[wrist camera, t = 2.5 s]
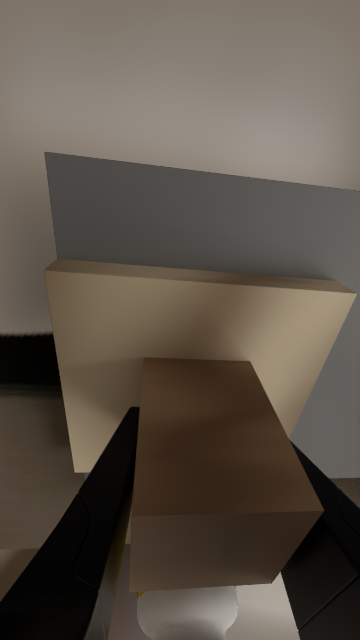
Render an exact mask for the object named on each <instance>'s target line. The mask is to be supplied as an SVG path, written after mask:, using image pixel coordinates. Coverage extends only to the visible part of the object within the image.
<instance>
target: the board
mask: <svg viewBox="0 0 360 640" xmlns="http://www.w3.org/2000/svg"><path fill="white" fill-rule="evenodd" d="M45 160H46V169H47V177H48V185H49V193H50V201H51V209H52V217H53V226H54V234H55V241H56V249H57V258H58V259H66V260H78V261H91V262H104V263H116V264H129V265H141V266H154V267H167V268H179V269H192V270H204V271H217V272H230V273H242V274H255V275H268V276H280V277H293V278H305V279H318V280H331V281H337V282H339V283H340V284H342V285H344V286H345V287H347V288H349V289H350V290H352V291H354V292H355V293H357V295H356V298H355V300H354V302H353V304H352V306H351V308H350V310H349V312H348V315H347V317H346V319H345V321H344V323H343V325H342V327H341V329H340V331H339V334H338V336H337V338H336V340H335V342H334V344H333V346H332V348H331V351H330V353H329V355H328V357H327V359H326V361H325V363H324V365H323V368H322V370H321V372H320V374H319V376H318V378H317V380H316V382H315V384H314V387H313V389H312V391H311V393H310V395H309V397H308V399H307V401H306V404H305V406H304V408H303V410H302V412H301V414H300V416H299V418H298V421H297V423H296V425H295V427H294V429H293V431H292V433H291V435H290V437H289V439H290V440H291V441H292V442H293V443H294V444H295V445H296V446H297V447H298V448H299V449H300V450H301V451H302V452H303V453H304V454H305V455H306V456H307V457H308V458H309V459H310V460H311V461H312V462H313V463H314V464H315V465H316V466H317V467H318V468H319V469H320V470H321V471H322V472H323V473H324V474H325V475H326V476H327V477H328V478H360V191H355V190H347V189H339V188H331V187H323V186H315V185H306V184H299V183H291V182H283V181H275V180H267V179H259V178H250V177H242V176H235V175H227V174H219V173H210V172H203V171H194V170H187V169H179V168H171V167H162V166H154V165H146V164H139V163H131V162H123V161H114V160H106V159H98V158H90V157H82V156H74V155H66V154H58V153H50V152H45ZM89 473H90V472H84V477H85V480H86V478H87V477H88V475H89Z"/></svg>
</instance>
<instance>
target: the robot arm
mask: <svg viewBox="0 0 360 640" xmlns="http://www.w3.org/2000/svg"><path fill="white" fill-rule="evenodd" d="M139 413H140V407H138V406H132V407H130V408H129V409H128V411H127V413H126V414H125V416H124V417H123V419H122V421H121V422H120V424H119V426H118V427H117V429H116V431H115V432H114V434H113V436H112V437H111V439H110V440H109V442H108V444H107V445H106V447H105V449H104V450H103V452H102V454H101V455H100V457H99V459H98V460H97V462H96V463H95V465H94V467H93V468H92V470H91V472H90V473H89V475H88V477H87V478H86V480H85V481H84V483H83V485H82V486H81V488H80V490H79V492H78V493H79V494H76V496H75V498H74V499H73V501H72V503H71V504H70V506H69V507H68V509H67V511H66V512H65V514H64V515H63V517H62V518H61V520H60V521H59V523H58V524H57V526H56V527H55V529H54V530H53V531H52V533H51V534H50V536H49V537H48V538H47V540H46V541H45V543H44V544H43V545H42V547H41V548H40V549H39V551H38V552H37V553H36V555H35V556H34V557H33V559H32V560H31V562H30V563H29V564H28V566H27V567H26V568H25V570H24V571H23V572H22V573H21V575H20V576H19V577H18V579H17V580H16V582H15V583H14V584H13V586H12V587H11V588H10V590H9V591H8V592H7V594H6V595H5V596H4V598H3V599H2V600H1V601H0V640H108V634H109V628H110V623H111V617H112V612H113V606H114V600H115V595H116V589H117V584H118V578H119V572H120V567H121V561H122V556H123V550H124V545H125V539H126V533H127V528H128V522H129V517H130V511H131V505H132V500H133V491H134V478H135V465H136V452H137V439H138V426H139ZM289 440H290V439H289ZM290 442H291V444H292V446H293V448H294V450H295V452H296V454H297V456H298V458H299V461H300V463H301V465H302V467H303V469H304V471H305V473H306V475H307V477H308V479H309V481H310V483H311V485H312V487H313V489H314V491H315V493H316V495H317V497H318V499H319V501H320V503H321V505H322V507H323V509H324V512H323V513H322V514H321V516H320V517H319V519H318V520H317V521H316V523H315V524H314V525H313V527H312V528H311V530H310V531H309V532H308V534H307V535H306V537H305V538H304V539H303V541H302V542H301V544H300V545H299V546H298V548H297V549H296V550H295V552H294V553H293V555H292V556H291V557H290V559H289V560H288V562H287V563H286V564H285V566H284V567H283V569H282V570H281V571H280V572H281V575H282V578H283V582H284V585H285V588H286V592H287V595H288V598H289V602H290V606H291V609H292V612H293V616H294V619H295V622H296V626H297V629H298V630H299V631H298V633H299V636H300V640H360V508H359V507H358V506H357V505H356V504H355V503H354V502H353V501H351V500H350V499H349V498H348V497H347V496H346V495H345V494H344V493H343V492H342V491H341V490H340V489H339V488H337V486H336V485H335V484H334V483H333V482H332V481H331V480H330V479H329V478H328V477H327V476H326V475H325V474H324V473H323V472H322V471H321V470H320V469H319V468H318V467H317V466H316V465H315V464H314V463H313V462H312V461H311V460H310V459H309V458H308V457H307V456H306V455H305V454H304V453H303V452H302V451H301V450H300V449H299V448H298V447H297V446H296V445H295V444H294V443H293V442H292V441H291V440H290Z"/></svg>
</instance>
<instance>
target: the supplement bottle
mask: <svg viewBox="0 0 360 640" xmlns="http://www.w3.org/2000/svg"><path fill="white" fill-rule="evenodd" d="M237 612H238V599H237V593H236V587H235V586H223V587H207V588H192V589H177V590H161V591H146V592H137V616H138V622H139V625H140V627H141V629H142V630H143V632H144V633H145V634H146V635H147V636H148V637H150V638H152V639H153V640H226V630H227V629H228V628H229V627H230V626H231V625H232V624H233V622H234V621H235V619H236V616H237Z"/></svg>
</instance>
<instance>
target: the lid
mask: <svg viewBox="0 0 360 640" xmlns="http://www.w3.org/2000/svg"><path fill="white" fill-rule="evenodd" d="M44 275H45V281H46V288H47V295H48V301H49V308H50V314H51V321H52V327H53V334H54V341H55V347H56V354H57V360H58V367H59V373H60V380H61V386H62V393H63V399H64V406H65V412H66V419H67V425H68V432H69V438H70V445H71V451H72V458H73V464H74V471H75V473H79V472H91V470H92V468H93V467H94V465H95V463H96V462H97V460H98V459H99V457H100V455H101V454H102V452H103V450H104V449H105V447H106V445H107V444H108V442H109V440H110V439H111V437H112V436H113V434H114V432H115V431H116V429H117V427H118V426H119V424H120V422H121V421H122V419H123V417H124V416H125V414H126V413H127V411H128V409H129V408H130V407H132V406H138V407H140V413H139V426H138V439H137V452H136V465H135V478H134V491H133V504H132V516H131V550H130V583H129V592H130V593H131V592H146V591H161V590H177V589H192V588H207V587H223V586H237V585H253V584H269V583H272V582H273V581H274V580H275V578H276V577H277V575H278V574H279V573H280V571H281V570H282V569H283V567H284V566H285V564H286V563H287V562H288V560H289V559H290V557H291V556H292V555H293V553H294V552H295V550H296V549H297V548H298V546H299V545H300V544H301V542H302V541H303V539H304V538H305V537H306V535H307V534H308V532H309V531H310V530H311V528H312V527H313V525H314V524H315V523H316V521H317V520H318V519H319V517H320V516H321V514H322V513H323V512H324V509H323V507H322V505H321V503H320V501H319V499H318V497H317V495H316V493H315V491H314V489H313V487H312V485H311V483H310V481H309V479H308V477H307V475H306V473H305V471H304V469H303V467H302V465H301V463H300V461H299V458H298V456H297V454H296V452H295V450H294V448H293V446H292V444H291V442H290V440H289V437H290V435H291V433H292V431H293V429H294V427H295V425H296V423H297V421H298V418H299V416H300V414H301V412H302V410H303V408H304V406H305V404H306V401H307V399H308V397H309V395H310V393H311V391H312V389H313V387H314V384H315V382H316V380H317V378H318V376H319V374H320V372H321V370H322V368H323V365H324V363H325V361H326V359H327V357H328V355H329V353H330V351H331V348H332V346H333V344H334V342H335V340H336V338H337V336H338V334H339V331H340V329H341V327H342V325H343V323H344V321H345V319H346V317H347V315H348V312H349V310H350V308H351V306H352V304H353V302H354V300H355V298H356V295H357V293H355V292H354V291H352V290H350V289H349V288H347V287H345V286H344V285H342V284H340V283H339V282H337V281H331V280H318V279H305V278H293V277H280V276H268V275H255V274H242V273H230V272H217V271H204V270H192V269H179V268H167V267H154V266H141V265H129V264H116V263H104V262H91V261H78V260H66V259H57V260H56V261H55V262H53V263H52V264H51V265H50V266H49V267H47V268H46V269H45V270H44Z"/></svg>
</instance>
